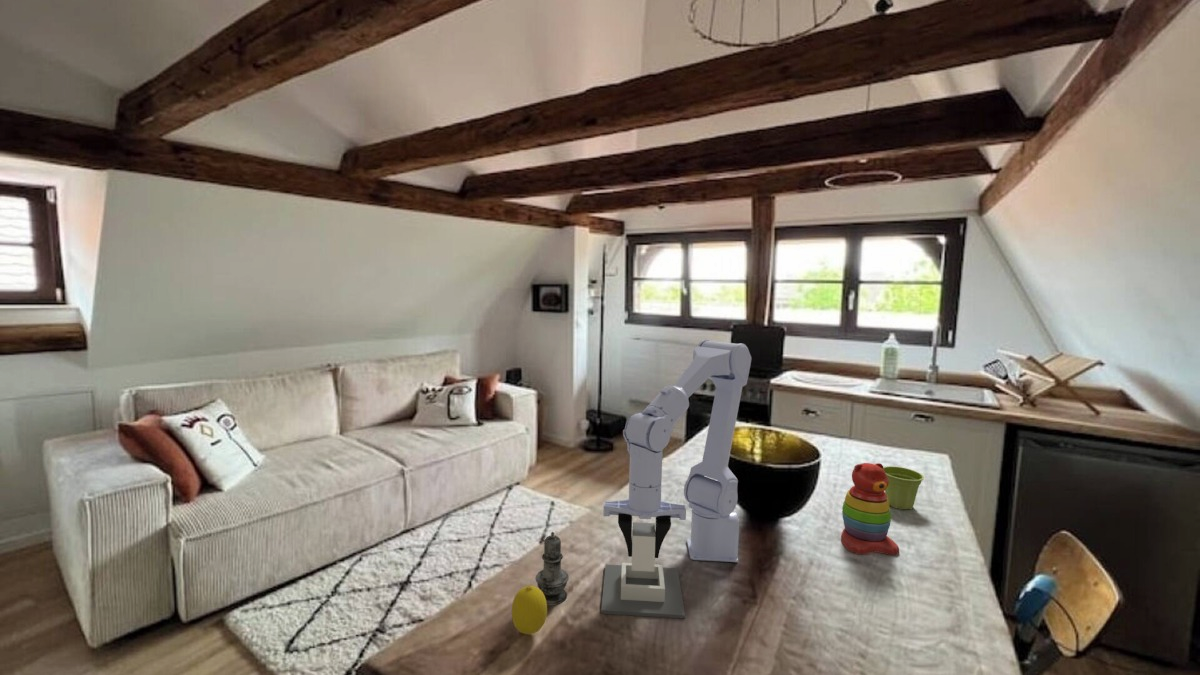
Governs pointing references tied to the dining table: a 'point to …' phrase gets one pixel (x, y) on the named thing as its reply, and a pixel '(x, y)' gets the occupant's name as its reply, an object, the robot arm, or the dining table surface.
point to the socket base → (642, 592)
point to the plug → (643, 547)
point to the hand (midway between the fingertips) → (643, 554)
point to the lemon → (529, 610)
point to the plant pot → (902, 486)
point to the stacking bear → (868, 512)
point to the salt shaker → (552, 572)
